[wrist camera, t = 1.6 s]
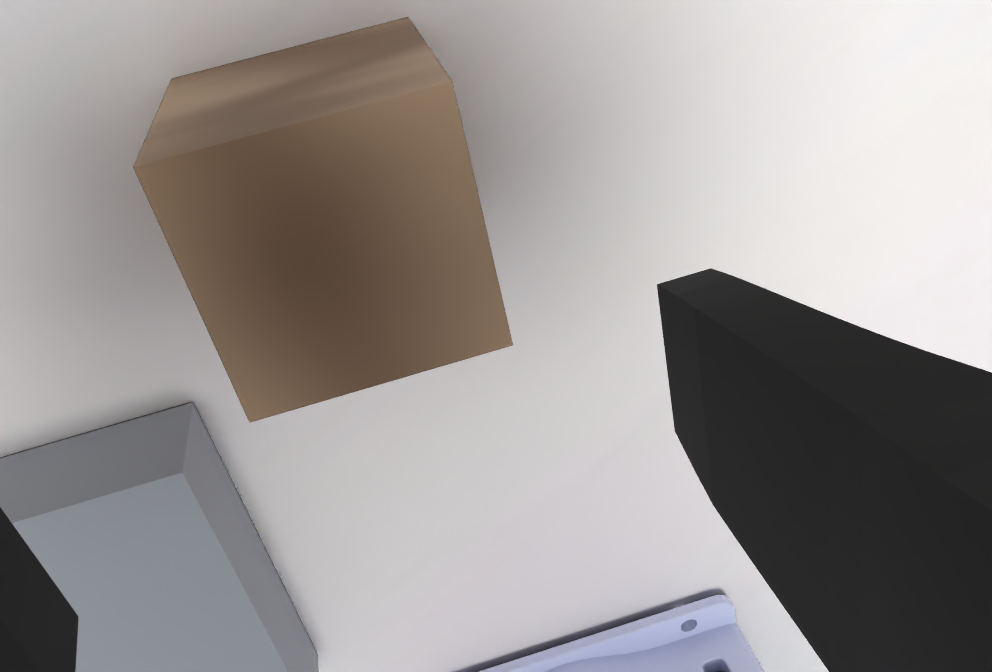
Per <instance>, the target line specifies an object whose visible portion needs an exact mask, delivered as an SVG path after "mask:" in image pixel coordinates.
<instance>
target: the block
mask: <svg viewBox="0 0 992 672" xmlns="http://www.w3.org/2000/svg"><path fill="white" fill-rule="evenodd" d="M133 168H134V170H135V172H136V175H137V177H138V179H139V181H140V183H141V185H142V188H143V190H144V192H145V194H146V196H147V199H148V201H149V203H150V205H151V207H152V210H153V212H154V214H155V216H156V218H157V221H158V223H159V225H160V227H161V229H162V232H163V234H164V236H165V238H166V240H167V242H168V245H169V247H170V249H171V251H172V253H173V256H174V258H175V260H176V262H177V264H178V267H179V269H180V271H181V273H182V275H183V278H184V280H185V282H186V284H187V286H188V288H189V291H190V293H191V295H192V297H193V299H194V302H195V304H196V306H197V308H198V310H199V313H200V315H201V317H202V319H203V321H204V324H205V326H206V328H207V330H208V332H209V335H210V337H211V339H212V341H213V343H214V345H215V348H216V350H217V352H218V354H219V356H220V359H221V361H222V363H223V365H224V367H225V370H226V372H227V374H228V376H229V378H230V381H231V383H232V385H233V387H234V389H235V392H236V394H237V396H238V398H239V400H240V402H241V405H242V407H243V409H244V411H245V413H246V416H247V418H248V420H249V422H253V421H257V420H260V419H264V418H267V417H270V416H274V415H277V414H281V413H284V412H287V411H291V410H294V409H298V408H301V407H304V406H308V405H311V404H315V403H318V402H321V401H325V400H328V399H332V398H335V397H338V396H342V395H345V394H349V393H352V392H355V391H359V390H362V389H366V388H369V387H372V386H376V385H379V384H383V383H386V382H389V381H393V380H396V379H400V378H403V377H406V376H410V375H413V374H417V373H420V372H423V371H427V370H430V369H434V368H437V367H440V366H444V365H447V364H451V363H454V362H457V361H461V360H464V359H468V358H471V357H474V356H478V355H481V354H485V353H488V352H491V351H495V350H498V349H502V348H505V347H508V346H512V345H513V343H512V339H511V334H510V330H509V326H508V321H507V317H506V313H505V308H504V304H503V300H502V295H501V291H500V287H499V282H498V278H497V274H496V269H495V265H494V261H493V256H492V252H491V248H490V243H489V239H488V235H487V230H486V226H485V222H484V217H483V213H482V209H481V204H480V200H479V196H478V191H477V187H476V183H475V178H474V174H473V170H472V165H471V161H470V157H469V152H468V148H467V144H466V139H465V135H464V131H463V126H462V122H461V118H460V113H459V109H458V105H457V100H456V96H455V92H454V87H453V83H452V81H451V79H450V78H449V76H448V75H447V73H446V72H445V70H444V69H443V67H442V66H441V64H440V63H439V62H438V60H437V59H436V57H435V56H434V54H433V53H432V51H431V50H430V48H429V47H428V45H427V44H426V43H425V41H424V40H423V38H422V37H421V35H420V34H419V32H418V31H417V29H416V28H415V26H414V25H413V23H412V22H411V21H410V19H409V18H408V17H405V18H402V19H398V20H394V21H390V22H386V23H383V24H379V25H375V26H371V27H367V28H363V29H360V30H356V31H352V32H348V33H344V34H340V35H337V36H333V37H329V38H325V39H321V40H318V41H314V42H310V43H306V44H302V45H298V46H295V47H291V48H287V49H283V50H279V51H275V52H272V53H268V54H264V55H260V56H256V57H253V58H249V59H245V60H241V61H237V62H233V63H230V64H226V65H222V66H218V67H214V68H210V69H207V70H203V71H199V72H195V73H191V74H187V75H184V76H180V77H176V78H172V79H171V82H170V84H169V86H168V88H167V91H166V93H165V95H164V98H163V100H162V102H161V104H160V107H159V109H158V111H157V114H156V116H155V118H154V120H153V123H152V125H151V127H150V130H149V132H148V134H147V136H146V139H145V141H144V143H143V146H142V148H141V150H140V153H139V155H138V157H137V159H136V162H135V164H134V166H133Z"/></svg>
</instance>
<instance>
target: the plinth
mask: <svg viewBox="0 0 992 672" xmlns="http://www.w3.org/2000/svg"><path fill="white" fill-rule="evenodd" d="M0 507H1V509H2V510H3V511H4V513H5V514H6V516H7V517H8V518H9V520H10V521H11V523H12V524H13V525H14V527H15V528H16V530H17V531H18V532H19V534H20V535H21V537H22V538H23V539H24V541H25V542H26V544H27V545H28V546H29V548H30V549H31V551H32V552H33V553H34V555H35V556H36V558H37V559H38V560H39V562H40V563H41V565H42V566H43V567H44V569H45V570H46V572H47V573H48V574H49V576H50V577H51V579H52V580H53V581H54V583H55V584H56V586H57V587H58V588H59V590H60V591H61V593H62V594H63V595H64V597H65V598H66V600H67V601H68V602H69V604H70V605H71V607H72V608H73V609H74V611H75V612H76V614H77V615H78V616H79V619H78V637H77V654H76V670H75V672H318V654H317V652H316V650H315V648H314V646H313V644H312V642H311V640H310V638H309V636H308V634H307V632H306V630H305V628H304V626H303V624H302V622H301V620H300V618H299V616H298V614H297V612H296V610H295V608H294V606H293V604H292V602H291V600H290V598H289V596H288V594H287V592H286V590H285V588H284V586H283V584H282V582H281V579H280V577H279V575H278V573H277V571H276V569H275V567H274V565H273V563H272V561H271V559H270V557H269V555H268V553H267V551H266V549H265V547H264V545H263V543H262V541H261V539H260V537H259V535H258V533H257V531H256V529H255V527H254V525H253V523H252V521H251V519H250V517H249V515H248V513H247V511H246V509H245V507H244V505H243V503H242V501H241V498H240V496H239V494H238V492H237V490H236V488H235V486H234V484H233V482H232V480H231V478H230V476H229V474H228V472H227V470H226V468H225V466H224V464H223V462H222V460H221V458H220V456H219V454H218V452H217V450H216V448H215V446H214V444H213V442H212V440H211V438H210V436H209V434H208V432H207V430H206V428H205V426H204V424H203V422H202V420H201V418H200V415H199V413H198V411H197V409H196V407H195V405H194V403H193V402H192V403H188V404H185V405H181V406H178V407H175V408H171V409H168V410H164V411H161V412H157V413H154V414H150V415H147V416H144V417H140V418H137V419H133V420H130V421H126V422H123V423H119V424H116V425H113V426H109V427H106V428H102V429H99V430H95V431H92V432H89V433H85V434H82V435H78V436H75V437H71V438H68V439H64V440H61V441H58V442H54V443H51V444H47V445H44V446H40V447H37V448H33V449H30V450H27V451H23V452H20V453H16V454H13V455H9V456H6V457H2V458H0Z"/></svg>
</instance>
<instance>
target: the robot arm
mask: <svg viewBox="0 0 992 672" xmlns="http://www.w3.org/2000/svg"><path fill="white" fill-rule="evenodd" d="M657 288H658V297H659V305H660V313H661V321H662V329H663V337H664V346H665V354H666V362H667V370H668V378H669V387H670V395H671V403H672V411H673V419H674V427H675V432H676V434H677V436H678V438H679V440H680V442H681V444H682V446H683V448H684V450H685V452H686V454H687V456H688V458H689V460H690V462H691V464H692V466H693V468H694V470H695V472H696V474H697V476H698V477H699V479H700V481H701V483H702V485H703V487H704V489H705V491H706V492H707V494H708V496H709V498H710V500H711V502H712V504H713V505H714V507H715V508H716V510H717V511H718V513H719V514H720V516H721V517H722V519H723V520H724V522H725V523H726V525H727V526H728V527H729V529H730V530H731V532H732V533H733V535H734V536H735V538H736V539H737V540H738V542H739V543H740V545H741V546H742V548H743V549H744V551H745V552H746V554H747V555H748V556H749V558H750V559H751V561H752V562H753V564H754V565H755V566H756V568H757V569H758V571H759V572H760V574H761V575H762V576H763V578H764V579H765V581H766V582H767V584H768V585H769V586H770V588H771V589H772V591H773V592H774V594H775V595H776V596H777V598H778V599H779V601H780V602H781V604H782V605H783V606H784V608H785V609H786V611H787V612H788V614H789V615H790V616H791V618H792V619H793V621H794V622H795V624H796V625H797V626H798V628H799V629H800V631H801V632H802V634H803V635H804V636H805V638H806V639H807V641H808V642H809V644H810V645H811V646H812V648H813V649H814V651H815V652H816V654H817V655H818V656H819V658H820V659H821V661H822V662H823V664H824V665H825V666H826V668H827V669H828V671H829V672H992V373H991V372H988V371H985V370H982V369H979V368H976V367H973V366H970V365H967V364H964V363H961V362H958V361H955V360H951V359H948V358H945V357H942V356H939V355H936V354H933V353H930V352H927V351H924V350H921V349H919V348H916V347H913V346H910V345H907V344H905V343H902V342H899V341H896V340H893V339H891V338H888V337H885V336H883V335H880V334H877V333H875V332H872V331H869V330H867V329H864V328H861V327H859V326H856V325H854V324H851V323H848V322H846V321H843V320H841V319H838V318H836V317H833V316H831V315H828V314H826V313H823V312H821V311H818V310H816V309H813V308H811V307H808V306H806V305H803V304H801V303H798V302H796V301H794V300H791V299H789V298H786V297H784V296H781V295H779V294H776V293H774V292H772V291H769V290H767V289H764V288H762V287H759V286H757V285H754V284H752V283H749V282H747V281H744V280H742V279H739V278H737V277H734V276H731V275H729V274H726V273H723V272H720V271H717V270H714V269H707V270H704V271H701V272H697V273H694V274H691V275H687V276H684V277H680V278H677V279H674V280H670V281H667V282H664V283H660V284H657ZM78 619H79V616H78V615H77V614H76V612H75V611H74V609H73V608H72V607H71V605H70V604H69V602H68V601H67V600H66V598H65V597H64V595H63V594H62V593H61V591H60V590H59V588H58V587H57V586H56V584H55V583H54V581H53V580H52V579H51V577H50V576H49V574H48V573H47V572H46V570H45V569H44V567H43V566H42V565H41V563H40V562H39V560H38V559H37V558H36V556H35V555H34V553H33V552H32V551H31V549H30V548H29V546H28V545H27V544H26V542H25V541H24V539H23V538H22V537H21V535H20V534H19V532H18V531H17V530H16V528H15V527H14V525H13V524H12V523H11V521H10V520H9V518H8V517H7V516H6V514H5V513H4V511H3V510H2V509H1V507H0V672H75V670H76V654H77V637H78ZM479 672H764V670H763V669H762V667H761V665H760V663H759V662H758V660H757V658H756V656H755V655H754V653H753V651H752V649H751V648H750V646H749V644H748V642H747V641H746V639H745V637H744V636H743V634H742V632H741V630H740V629H739V627H738V625H737V624H736V615H735V608H734V605H733V604H732V602H731V600H730V599H729V597H727V596H726V595H714V596H711V597H708V598H705V599H702V600H699V601H696V602H692V603H689V604H686V605H683V606H680V607H677V608H674V609H671V610H668V611H665V612H661V613H658V614H655V615H652V616H649V617H646V618H643V619H640V620H637V621H634V622H630V623H627V624H624V625H621V626H618V627H615V628H612V629H609V630H606V631H603V632H599V633H596V634H593V635H590V636H587V637H584V638H581V639H578V640H575V641H572V642H568V643H565V644H562V645H559V646H556V647H553V648H550V649H547V650H544V651H541V652H537V653H534V654H531V655H528V656H525V657H522V658H519V659H516V660H513V661H510V662H506V663H503V664H500V665H497V666H494V667H491V668H488V669H485V670H482V671H479Z"/></svg>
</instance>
